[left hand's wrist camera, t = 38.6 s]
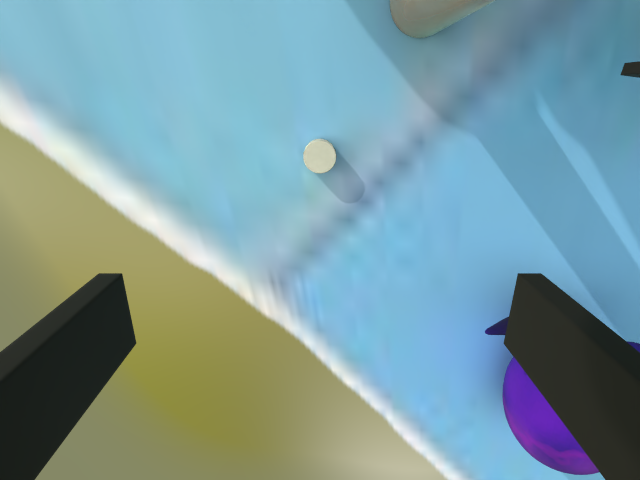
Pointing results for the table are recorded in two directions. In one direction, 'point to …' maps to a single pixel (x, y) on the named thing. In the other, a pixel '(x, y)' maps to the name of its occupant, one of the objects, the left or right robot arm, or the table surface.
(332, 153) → the cap
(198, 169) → the table surface
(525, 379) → the toy
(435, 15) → the bottle
